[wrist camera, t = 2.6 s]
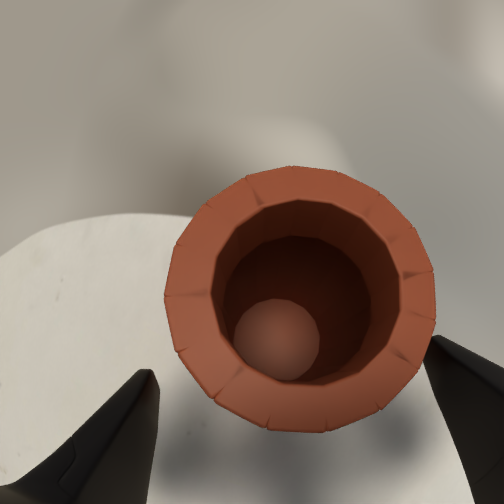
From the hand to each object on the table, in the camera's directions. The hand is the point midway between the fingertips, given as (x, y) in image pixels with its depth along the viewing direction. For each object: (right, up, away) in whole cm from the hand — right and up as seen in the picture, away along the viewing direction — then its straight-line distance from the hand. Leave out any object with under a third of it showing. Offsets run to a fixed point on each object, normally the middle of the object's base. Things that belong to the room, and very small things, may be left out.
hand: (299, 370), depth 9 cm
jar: (0, -2, +9) cm, 9 cm away
